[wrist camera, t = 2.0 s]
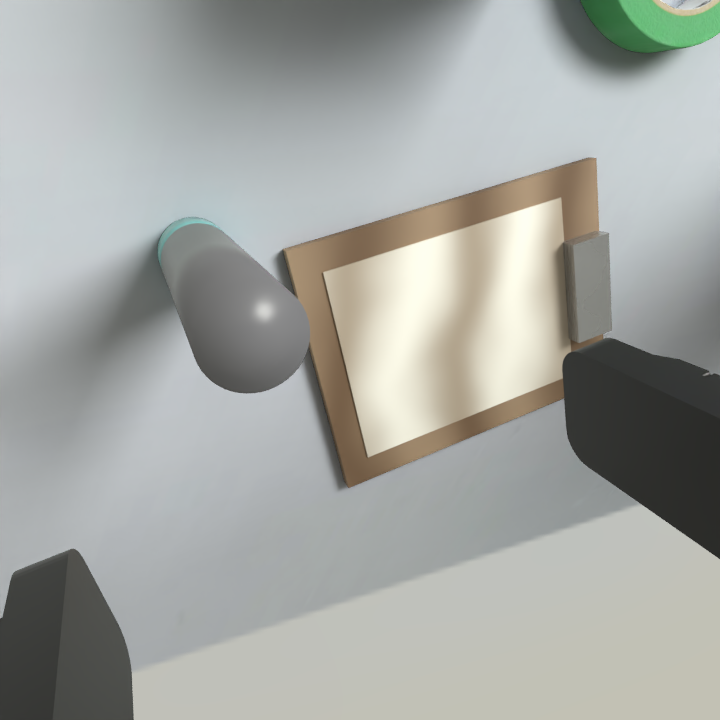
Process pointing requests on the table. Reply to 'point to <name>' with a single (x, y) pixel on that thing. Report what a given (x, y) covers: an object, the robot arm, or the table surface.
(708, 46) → the table surface
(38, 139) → the table surface
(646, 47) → the tape roll
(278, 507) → the table surface
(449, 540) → the table surface
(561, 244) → the clipboard
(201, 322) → the marker
